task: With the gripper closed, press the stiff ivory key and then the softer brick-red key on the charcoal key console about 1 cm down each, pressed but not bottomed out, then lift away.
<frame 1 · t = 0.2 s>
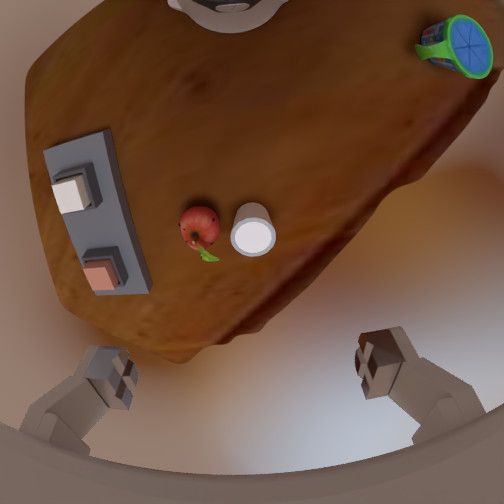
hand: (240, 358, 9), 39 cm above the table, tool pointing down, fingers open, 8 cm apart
shot glass: (251, 216, 50), on the table
snack cup: (435, 46, 31), on the table
key brick: (101, 274, 47), point 6 cm above the table, slide at 0.0 cm
key console: (100, 218, 48), on the table
apple: (205, 215, 49), on the table
key ivory: (71, 193, 39), point 6 cm above the table, slide at 0.0 cm
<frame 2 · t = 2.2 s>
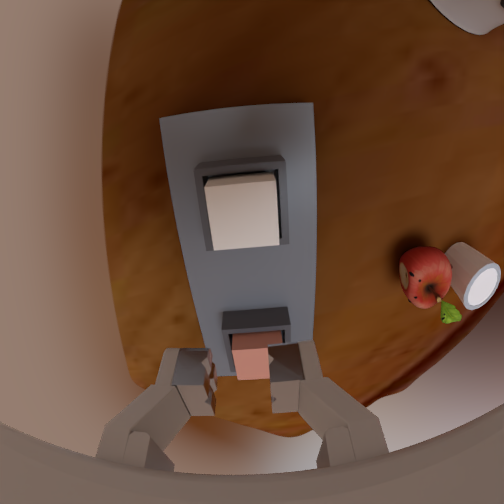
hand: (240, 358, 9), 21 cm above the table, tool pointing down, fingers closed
shot glass: (454, 259, 33), on the table
key brick: (258, 354, 30), point 6 cm above the table, slide at 0.0 cm
key console: (251, 259, 32), on the table
apple: (411, 258, 32), on the table
key ivory: (243, 210, 22), point 7 cm above the table, slide at 0.0 cm
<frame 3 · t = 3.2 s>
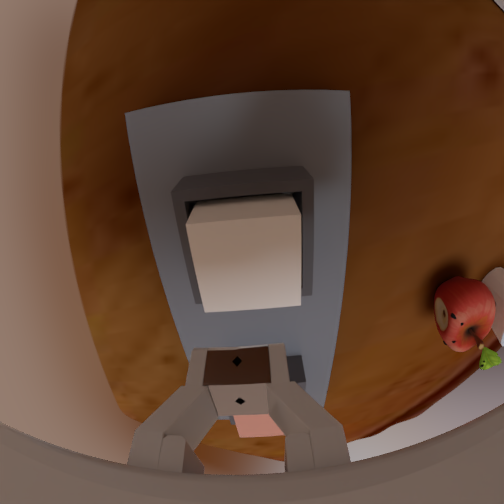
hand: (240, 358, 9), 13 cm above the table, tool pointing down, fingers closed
shot glass: (490, 286, 25), on the table
key brick: (265, 411, 23), point 6 cm above the table, slide at 0.0 cm
key console: (256, 297, 24), on the table
apple: (447, 288, 25), on the table
key ivory: (247, 253, 15), point 6 cm above the table, slide at 0.0 cm
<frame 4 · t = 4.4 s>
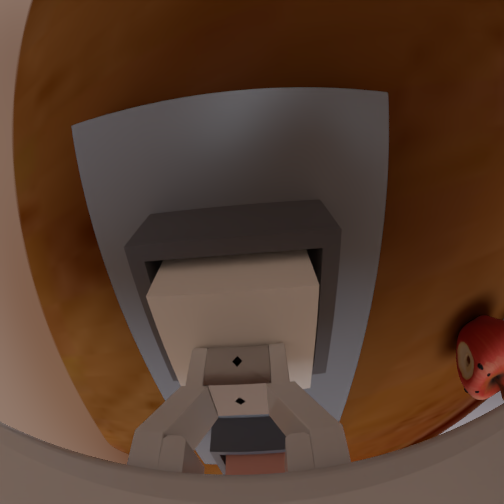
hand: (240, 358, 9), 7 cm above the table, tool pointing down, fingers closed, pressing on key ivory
key brick: (262, 470, 17), point 6 cm above the table, slide at 0.0 cm
key console: (253, 350, 19), on the table
apple: (470, 327, 20), on the table
key ivory: (240, 322, 10), point 6 cm above the table, slide at 0.6 cm, touching gripper
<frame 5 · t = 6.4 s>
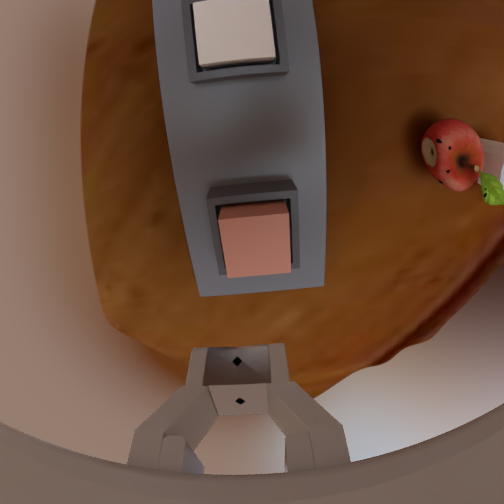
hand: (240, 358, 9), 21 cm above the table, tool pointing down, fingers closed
shot glass: (479, 159, 25), on the table
key brick: (256, 238, 23), point 6 cm above the table, slide at 0.0 cm
key console: (246, 128, 24), on the table
apple: (433, 146, 25), on the table
key ivory: (234, 31, 16), point 6 cm above the table, slide at 0.9 cm
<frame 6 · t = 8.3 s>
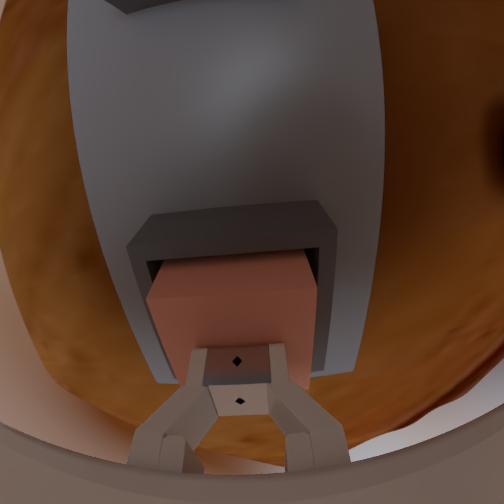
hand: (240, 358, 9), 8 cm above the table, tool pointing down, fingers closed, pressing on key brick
key brick: (239, 324, 11), point 6 cm above the table, slide at 0.4 cm, touching gripper
key console: (226, 98, 12), on the table
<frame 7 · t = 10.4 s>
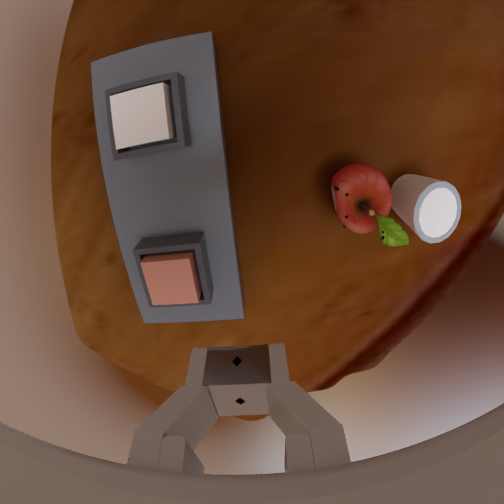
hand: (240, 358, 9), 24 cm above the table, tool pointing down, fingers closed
shot glass: (407, 195, 31), on the table
key brick: (173, 275, 29), point 6 cm above the table, slide at 0.9 cm
key console: (171, 187, 31), on the table
apple: (349, 189, 31), on the table
key ivory: (143, 116, 22), point 6 cm above the table, slide at 0.9 cm
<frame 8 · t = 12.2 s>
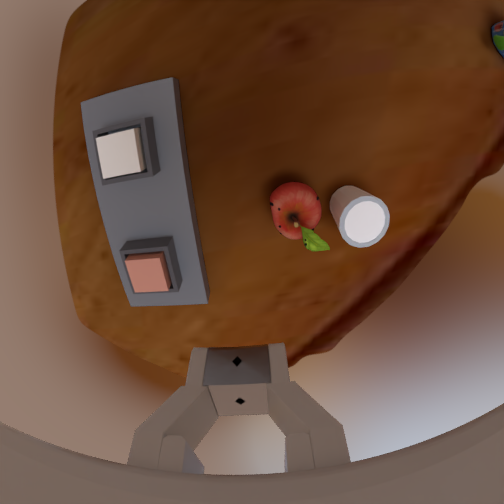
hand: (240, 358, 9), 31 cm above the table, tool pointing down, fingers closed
shot glass: (347, 203, 39), on the table
snack cup: (501, 42, 24), on the table
key brick: (149, 270, 37), point 6 cm above the table, slide at 0.9 cm
key console: (148, 200, 39), on the table
apple: (292, 199, 39), on the table
key ivory: (122, 152, 30), point 6 cm above the table, slide at 0.9 cm
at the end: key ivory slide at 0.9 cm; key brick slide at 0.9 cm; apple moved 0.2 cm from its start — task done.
